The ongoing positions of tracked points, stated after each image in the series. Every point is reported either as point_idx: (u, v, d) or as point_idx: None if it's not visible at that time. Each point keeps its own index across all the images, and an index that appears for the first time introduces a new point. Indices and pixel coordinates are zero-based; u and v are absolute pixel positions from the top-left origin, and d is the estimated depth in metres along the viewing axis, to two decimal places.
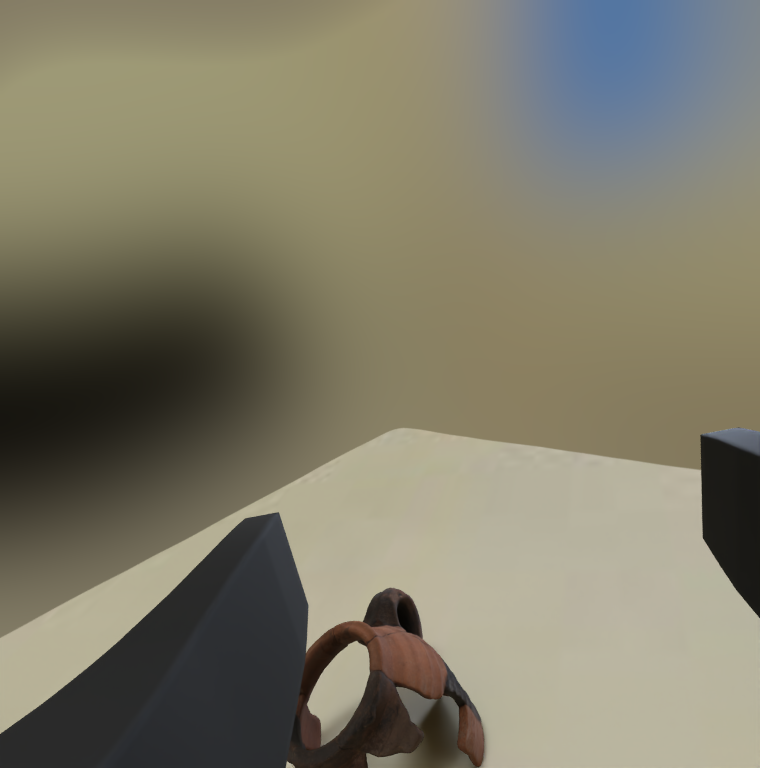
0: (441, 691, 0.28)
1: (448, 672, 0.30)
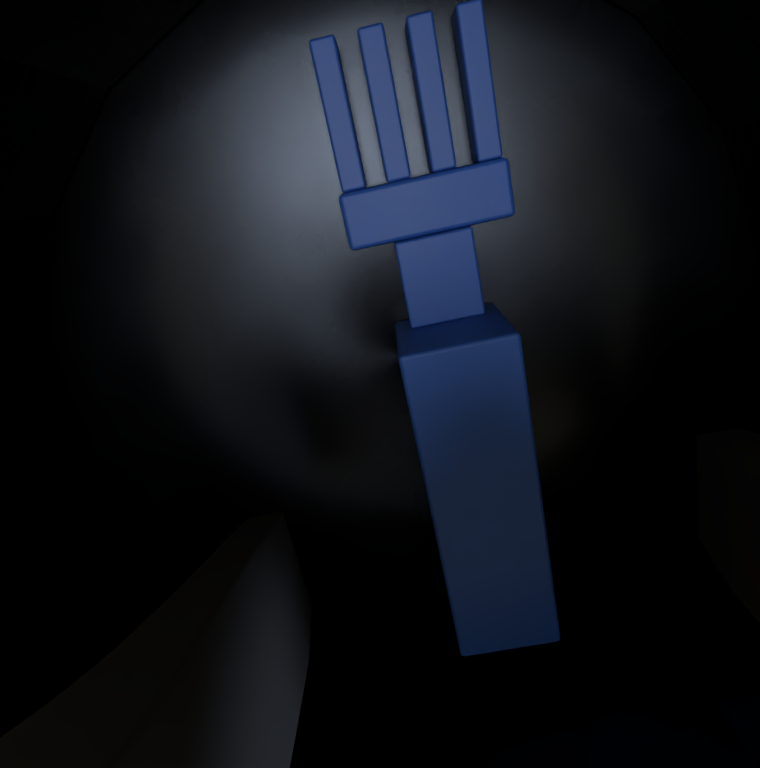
0: None
1: None
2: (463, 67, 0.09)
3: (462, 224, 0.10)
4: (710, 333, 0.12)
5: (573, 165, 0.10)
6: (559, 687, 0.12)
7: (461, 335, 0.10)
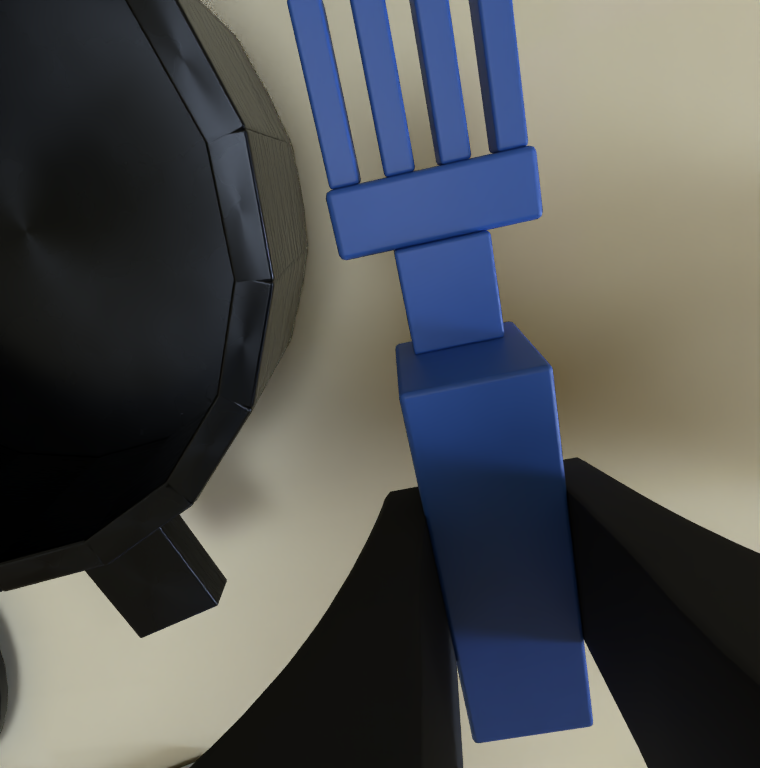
0: None
1: None
2: (480, 32, 0.08)
3: (478, 227, 0.08)
4: None
5: (116, 88, 0.15)
6: (138, 472, 0.16)
7: (477, 366, 0.08)
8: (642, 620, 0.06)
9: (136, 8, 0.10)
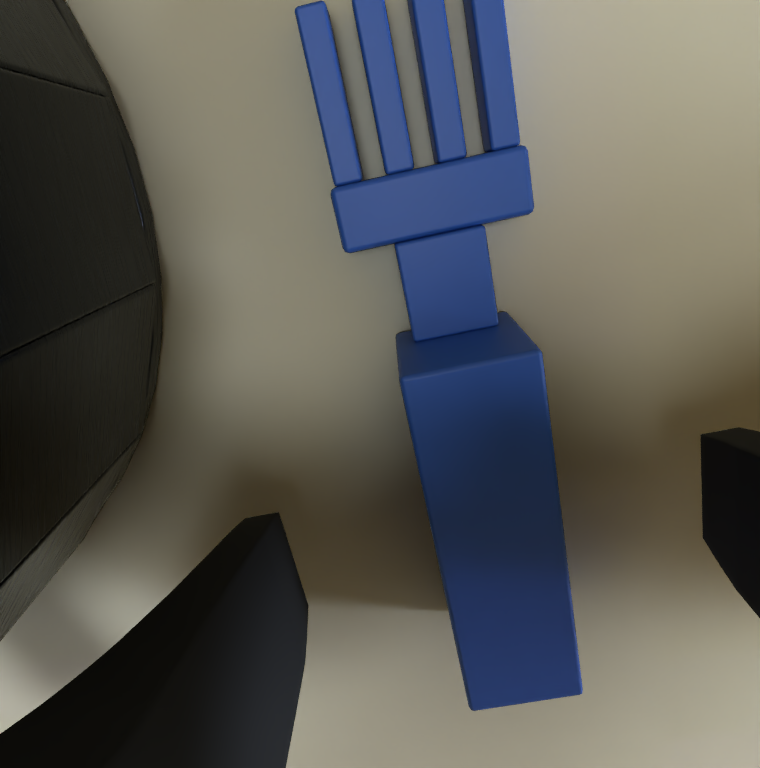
0: None
1: None
2: (475, 39, 0.08)
3: (473, 223, 0.09)
4: None
5: None
6: None
7: (472, 351, 0.08)
8: None
9: None
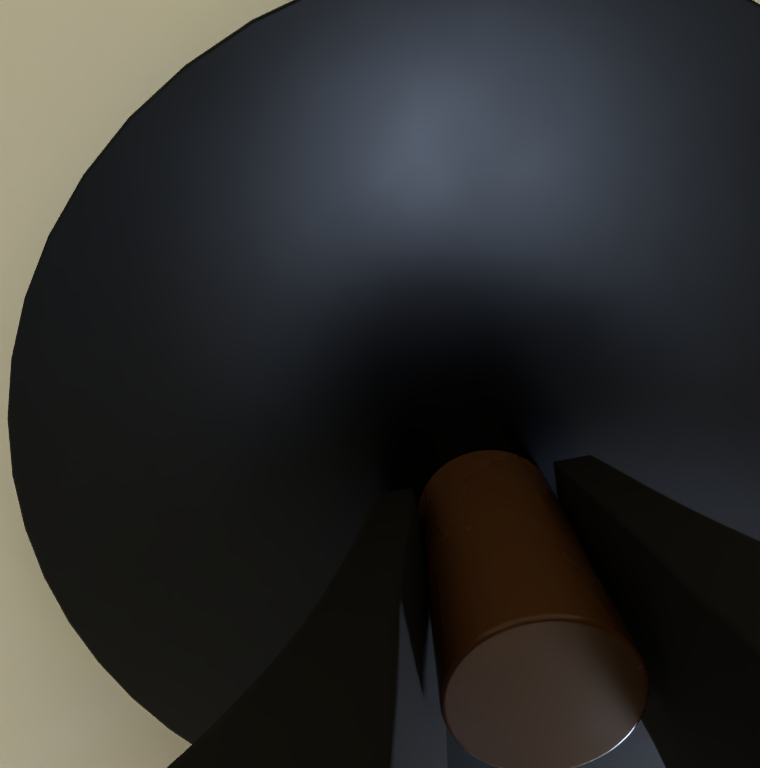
0: None
1: None
2: None
3: None
4: None
5: None
6: None
7: None
8: (663, 618, 0.06)
9: None
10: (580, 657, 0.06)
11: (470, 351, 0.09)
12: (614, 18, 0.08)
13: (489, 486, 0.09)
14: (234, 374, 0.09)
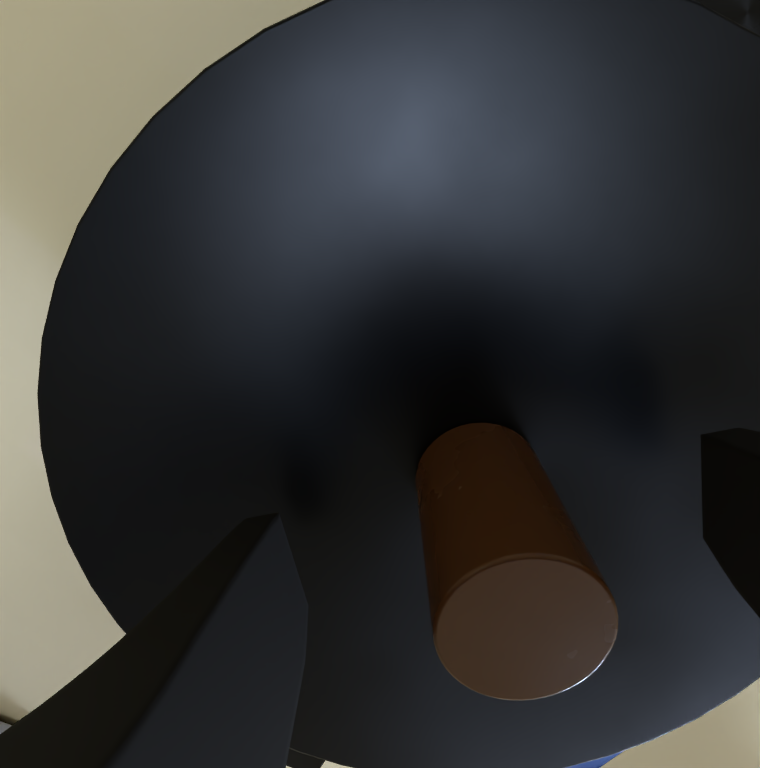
0: None
1: None
2: None
3: None
4: None
5: None
6: None
7: None
8: None
9: None
10: (556, 592, 0.07)
11: (462, 331, 0.10)
12: (591, 27, 0.09)
13: (479, 452, 0.10)
14: (246, 352, 0.10)
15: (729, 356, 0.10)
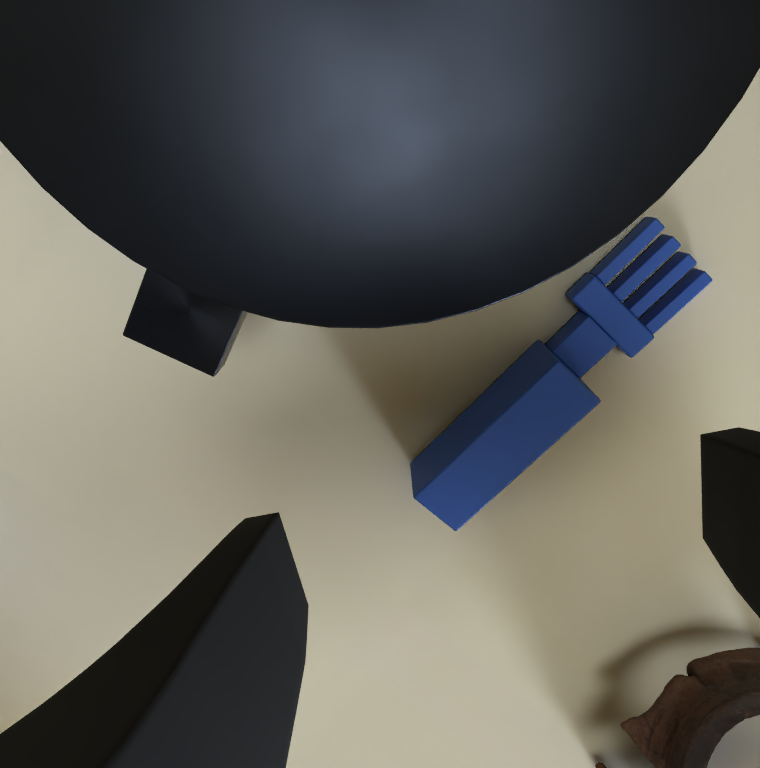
0: None
1: None
2: (680, 291, 0.18)
3: (614, 339, 0.19)
4: None
5: None
6: None
7: (577, 378, 0.18)
8: None
9: None
10: None
11: None
12: None
13: None
14: None
15: None
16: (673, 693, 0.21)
